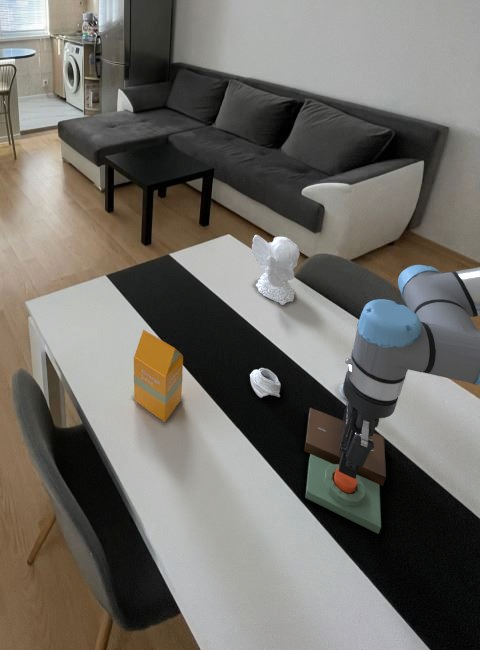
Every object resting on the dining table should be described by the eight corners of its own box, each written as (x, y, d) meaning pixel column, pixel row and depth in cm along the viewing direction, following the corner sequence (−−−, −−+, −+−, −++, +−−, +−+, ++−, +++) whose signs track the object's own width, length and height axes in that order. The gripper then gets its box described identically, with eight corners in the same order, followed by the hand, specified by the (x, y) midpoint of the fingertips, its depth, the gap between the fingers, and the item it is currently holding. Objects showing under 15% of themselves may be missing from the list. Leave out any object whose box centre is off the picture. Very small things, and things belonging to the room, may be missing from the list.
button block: (377, 491, 84) (381, 478, 82) (378, 534, 78) (383, 521, 76) (308, 460, 90) (311, 448, 88) (305, 498, 84) (308, 485, 82)
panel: (380, 443, 92) (384, 433, 91) (383, 489, 84) (386, 479, 83) (308, 414, 99) (310, 404, 98) (304, 454, 91) (306, 444, 90)
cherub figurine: (303, 307, 130) (313, 253, 122) (262, 309, 130) (269, 255, 123) (284, 279, 142) (292, 228, 134) (247, 280, 142) (252, 230, 135)
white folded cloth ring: (244, 378, 110) (243, 363, 108) (268, 371, 110) (268, 356, 109) (261, 404, 102) (261, 389, 101) (287, 397, 103) (287, 382, 101)
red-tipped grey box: (340, 425, 93) (347, 398, 90) (350, 429, 92) (357, 402, 89) (339, 449, 89) (346, 423, 86) (349, 454, 88) (357, 427, 85)
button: (355, 479, 83) (357, 473, 82) (355, 497, 80) (357, 491, 79) (334, 469, 85) (335, 463, 84) (333, 487, 82) (334, 481, 81)
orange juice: (164, 422, 99) (166, 359, 92) (133, 400, 105) (132, 339, 97) (181, 399, 104) (184, 337, 97) (151, 378, 110) (151, 319, 103)
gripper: (347, 347, 79) (326, 432, 88) (345, 404, 69) (322, 494, 78) (396, 363, 76) (369, 450, 84) (402, 426, 65) (371, 518, 74)
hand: (347, 471), depth 81 cm, fingers closed
